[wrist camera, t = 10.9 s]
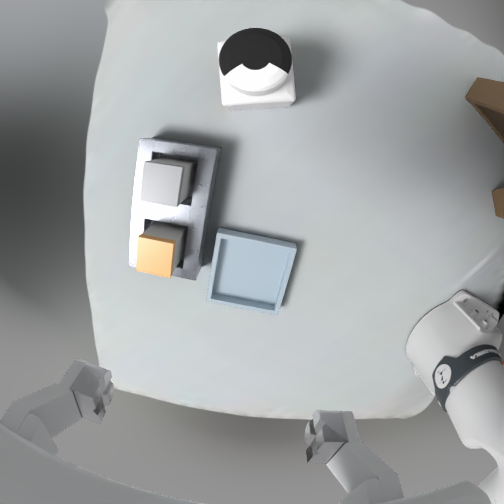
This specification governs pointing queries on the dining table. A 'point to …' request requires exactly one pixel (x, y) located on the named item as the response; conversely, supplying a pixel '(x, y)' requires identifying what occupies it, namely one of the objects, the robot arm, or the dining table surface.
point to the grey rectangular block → (167, 180)
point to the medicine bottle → (256, 70)
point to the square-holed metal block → (189, 211)
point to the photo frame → (490, 119)
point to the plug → (161, 248)
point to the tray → (249, 271)
